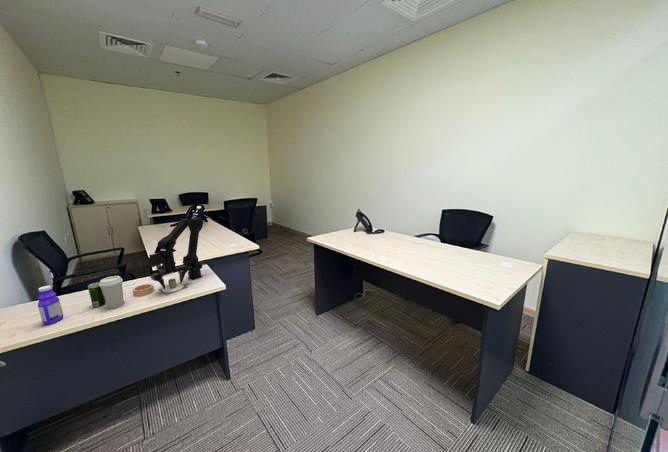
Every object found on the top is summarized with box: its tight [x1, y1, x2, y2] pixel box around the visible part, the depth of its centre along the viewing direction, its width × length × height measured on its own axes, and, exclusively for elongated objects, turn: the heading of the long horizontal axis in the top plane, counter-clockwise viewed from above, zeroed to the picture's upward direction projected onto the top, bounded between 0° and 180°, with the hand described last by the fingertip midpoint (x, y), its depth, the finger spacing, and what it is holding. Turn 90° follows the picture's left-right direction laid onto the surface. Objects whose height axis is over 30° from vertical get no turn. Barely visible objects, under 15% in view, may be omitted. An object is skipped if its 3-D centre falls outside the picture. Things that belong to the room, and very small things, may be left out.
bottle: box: [37, 285, 64, 325], centre depth 123 cm, size 7×6×17 cm
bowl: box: [132, 283, 155, 297], centre depth 151 cm, size 10×10×4 cm
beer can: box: [87, 281, 107, 309], centre depth 137 cm, size 5×5×12 cm
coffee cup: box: [99, 275, 125, 310], centre depth 136 cm, size 10×10×15 cm
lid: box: [161, 278, 185, 294], centre depth 155 cm, size 11×11×6 cm
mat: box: [158, 284, 189, 296], centre depth 155 cm, size 12×12×1 cm
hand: (172, 285), depth 155 cm, fingers open, 9 cm apart
